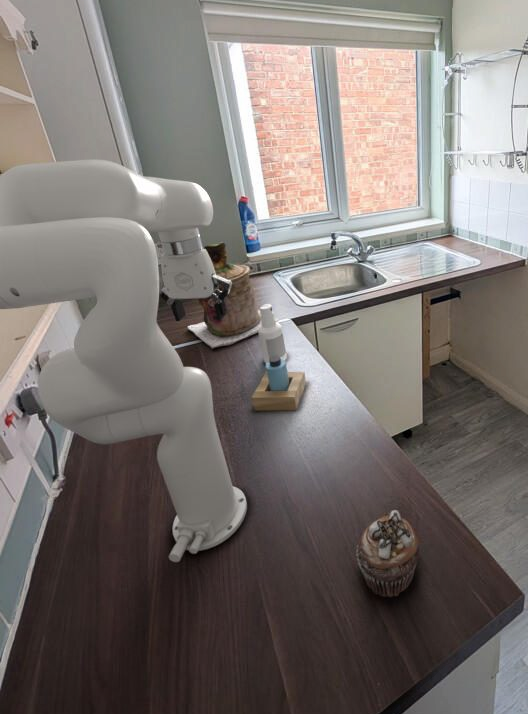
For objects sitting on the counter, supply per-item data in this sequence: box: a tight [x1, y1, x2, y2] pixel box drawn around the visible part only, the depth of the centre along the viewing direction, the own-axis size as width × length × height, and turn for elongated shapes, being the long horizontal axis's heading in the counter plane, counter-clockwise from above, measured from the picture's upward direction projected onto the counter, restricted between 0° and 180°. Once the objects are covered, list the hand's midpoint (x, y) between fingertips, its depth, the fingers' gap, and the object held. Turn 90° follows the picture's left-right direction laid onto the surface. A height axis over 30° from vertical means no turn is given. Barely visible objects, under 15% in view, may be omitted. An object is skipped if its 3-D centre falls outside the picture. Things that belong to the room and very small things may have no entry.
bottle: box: [265, 356, 290, 391], centre depth 104 cm, size 5×5×12 cm
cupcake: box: [355, 509, 420, 598], centre depth 61 cm, size 10×10×10 cm
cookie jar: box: [187, 241, 279, 350], centre depth 138 cm, size 25×25×32 cm
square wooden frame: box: [251, 371, 307, 412], centre depth 105 cm, size 11×11×4 cm
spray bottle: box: [257, 303, 288, 365], centre depth 119 cm, size 7×7×18 cm
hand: (201, 317), depth 92 cm, fingers open, 9 cm apart
